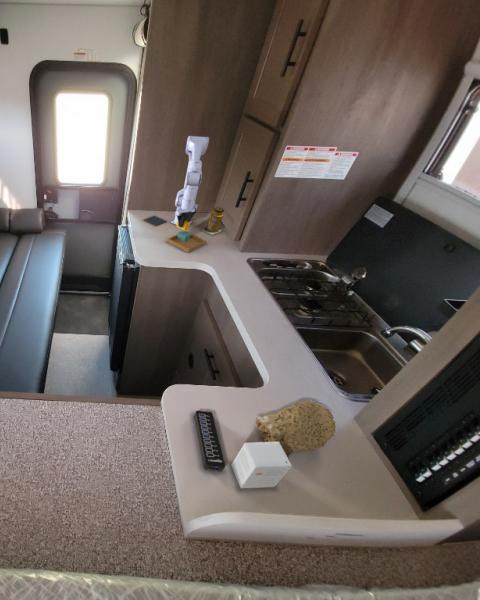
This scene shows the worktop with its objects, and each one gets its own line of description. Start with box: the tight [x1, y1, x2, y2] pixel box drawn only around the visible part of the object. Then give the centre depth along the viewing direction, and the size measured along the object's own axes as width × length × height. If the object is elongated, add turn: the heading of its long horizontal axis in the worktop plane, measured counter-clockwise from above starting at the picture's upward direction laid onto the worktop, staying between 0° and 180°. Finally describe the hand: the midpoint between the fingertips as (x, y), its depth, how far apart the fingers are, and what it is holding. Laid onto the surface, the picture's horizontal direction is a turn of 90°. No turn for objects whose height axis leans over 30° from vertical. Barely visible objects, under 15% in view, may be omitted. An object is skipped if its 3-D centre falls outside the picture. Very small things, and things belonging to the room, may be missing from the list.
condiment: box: [200, 206, 225, 236], centre depth 173 cm, size 7×8×12 cm
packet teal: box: [176, 230, 192, 242], centre depth 167 cm, size 4×5×3 cm
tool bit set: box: [193, 410, 226, 472], centre depth 82 cm, size 4×14×2 cm, turn 174°
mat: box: [143, 215, 167, 227], centre depth 185 cm, size 9×9×1 cm
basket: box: [166, 230, 207, 253], centre depth 164 cm, size 14×13×2 cm
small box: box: [230, 441, 293, 489], centre depth 73 cm, size 8×6×10 cm
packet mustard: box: [176, 221, 192, 231], centre depth 162 cm, size 4×5×3 cm
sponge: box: [255, 400, 337, 455], centre depth 83 cm, size 13×8×20 cm
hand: (183, 225), depth 162 cm, fingers closed on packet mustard, 4 cm apart
